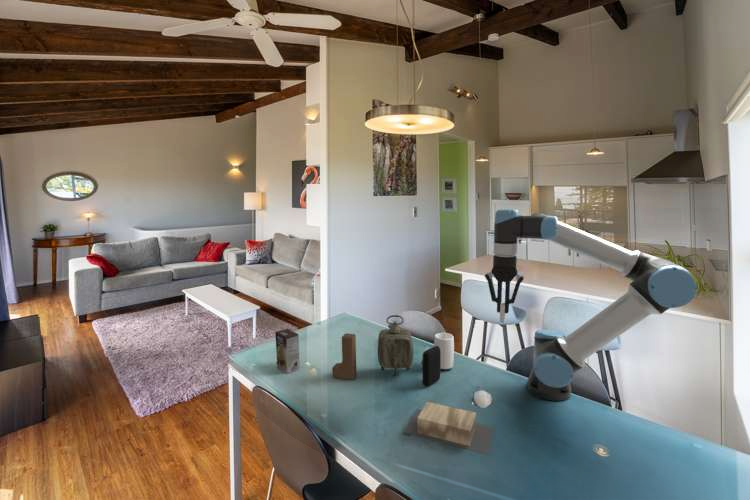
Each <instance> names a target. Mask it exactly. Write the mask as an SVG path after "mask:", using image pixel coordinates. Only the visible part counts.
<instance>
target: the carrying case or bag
mask: <svg viewBox="0 0 750 500" xmlns="http://www.w3.org/2000/svg"><path fill="white" fill-rule="evenodd" d="M421 365H422V384H423V386H424V387H427V388H428V387H429V386H430V385H433V384H434V383H436V382H438V381H439V380H440V379H441V369H440V348H439V347H438V346H434V345H433V347H431V348H428V349H426V350H424V352H423V353H422V357H421Z"/></svg>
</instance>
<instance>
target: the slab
mask: <svg viewBox="0 0 750 500" xmlns="http://www.w3.org/2000/svg"><path fill="white" fill-rule="evenodd" d="M421 410H422V411H421V413H420V415H419V416H418V418H417V433H420V434H424V435H428V436H432V437H436V438H440V439H443V440H447V441H451V442H455V443H459V444H462V445H466V446H470V443H471V440H472V437H473V434H474V431H475V428H476V423H477V412H474V411H470V410H465V409H461V408H456V407H451V406H446V405H443V404H438V403H434V402H429V401H426V402H425V404H424V406H423V407H422V409H421Z"/></svg>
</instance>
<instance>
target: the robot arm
mask: <svg viewBox="0 0 750 500" xmlns="http://www.w3.org/2000/svg"><path fill="white" fill-rule="evenodd" d="M493 224H494V226H493V227H494V229H493V230H494V231H493V254H494V255H493V259H492V260H493V261H492V262H493V263H492V269H491V270H490V271H489V272H487V273H485V274H484V277H485V280H486V281H487V284H488V289H489V293H490V294H489V295H490V298H491V302H493V303H496V313H499V323H501V324H505V322H506V314H508V313H509V311H510V305H511V304H515V301H516V297H517V294H518V291H519V288H520V285H521V283H522V282H523V281H524V278H525V276H524V275H521V274H520V273H519V271H518V270H517V261H518V260H517V259H518V258H517V253H518V239H531V240H533V239H535V240H537V239H538V240H548V241H550V242H552V243H554V244H556V245H559V246H561V247H564V248H565V249H567V250H570V251H573V252H574V253H578V254H579V255H581V256H584V257H587V258H589V259H591V260H593V261H596V262H597V263H600V264H603V266H606V267H608V268H612V269H613V270H616V271H618V272H620V274H621V277H625V278H626V279H628V280H631V282H630V283H629V284H628V288H627V289H628V290H627V292H625V293H624V294H623V295H622V296H620V297H619V298H617V299H616V300H615V301H614V302H612V303H611V304H610V305H607V306H606V307H605V308H604V309H602V310H601V311H599V313H597V314H596V315H594V316H593V317H591V318H590V319H588V320H587V321H586V322H585V323H583V324H582V325H581V326H579V327H577V328H576V329H575V330H573V332H571V333H570V334H567V333H566V332H563V331H559V330H555V329H537V330H536V331H534V336H533V338H534V340H533V342H534V343H533V361H532V369H531V371H530V374H529V376H528V379H527V382H526V389H527V390H528V392H529V393H531V395H534V396H536V397H538V398H540V399H543V400H547V401H555V402H558V401H559V402H561V401H565V400H569V399H570V398H571V397H572V387H571V382H572V380H573V379H574V374H575V373H577V372H579V371H580V370H581V369H583V368H584V367H585V362H586V359H588V358H589V357H591V356H592V355H594V354H595V353H597V352H598V351H600V350H601V349H603V347H605V346H606V345H609V344H610V343H611V342H612V341H614V340H616V339H617V338H618V337H620V336H622V335H623V334H624V333H626V332H627V331H628V330H630V329H631V328H633V327H635V326H636V325H637V324H639V323H640V322H642V321H643V320H645V319H646V318H647V317H649V316H650V315H662V314H663V313H665V312H666V311H668V310H670V309H675V308H676V309H678V308H681V307H684V306H686V305H688V304H690V303H691V302H692V300H694V299H695V297H696V295H697V291H698V284H697V280H696V279H695V277H694V276H693V274H692V273H691V272H690V271H689V270H688V269H686V268H685V267H683V266H681V265H679V264H676V263H675V262H673V261H671V260H669V259H666V258H663V257H658V256H655V255H651V254H649V253H645V252H643V251H640V250H639V249H636V250H630V249H628V248H625V247H622V246H620V245H618V244H616V243H613V242H611V241H609V240H606V239H603V238H601V237H600V236H599V237H598V236H596V235H594V234H591V233H588V232H586V231H584V230H583V229H579V228H577V227H574V226H571V225H569V224H568V223H565V222H563V221H560V220H559V218H558V217H557V216H556V215H555V216H553V215H546V214H544V213H542V212H535V213H532V214H531V215H521V214H520V213H519V210H518V209H510V208H509V209H497V210H496V212H495V215H494V223H493ZM493 277H494V278H495V280H496V281H497V292H496V291H495V286H494V282H493ZM515 277H516V278H515ZM513 279H515V281H516V282H515V287H514V289H513V293H512V294H511V293H510V292H511V282H512V281H513ZM503 282H504V285H505V290H504V291H505V292H504V302H502V300H503V299H502V296H503V295H502V294H503ZM510 294H511V295H512V296H511V295H510ZM510 296H511V298H510Z"/></svg>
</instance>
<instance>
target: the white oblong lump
mask: <svg viewBox="0 0 750 500" xmlns="http://www.w3.org/2000/svg"><path fill="white" fill-rule="evenodd" d="M478 388H479V385H478V386H476V389H475V390H476V391H475V393H474V394H473V401H474V403H475V404H476V405H477V407H479V408H481V409H485V408H489V407H488V406H490V405H491V403H492V395H491V393H490V392H488V391H486V390H484V389H481V390H478Z"/></svg>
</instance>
